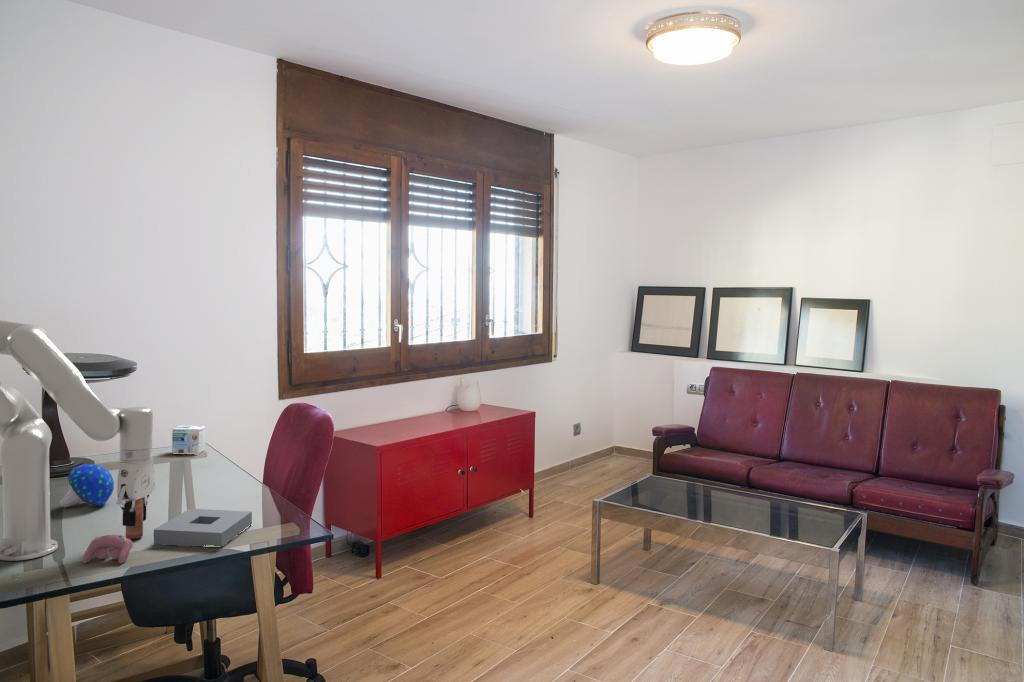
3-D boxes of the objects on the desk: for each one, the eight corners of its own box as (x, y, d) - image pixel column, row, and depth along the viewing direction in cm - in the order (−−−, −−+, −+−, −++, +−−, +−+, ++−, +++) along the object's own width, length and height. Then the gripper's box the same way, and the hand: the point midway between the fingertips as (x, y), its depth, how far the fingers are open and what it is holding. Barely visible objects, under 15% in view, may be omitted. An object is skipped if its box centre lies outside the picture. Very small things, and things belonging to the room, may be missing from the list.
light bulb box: (171, 455, 276) (171, 428, 275) (178, 451, 283) (178, 425, 282) (199, 455, 277) (199, 428, 276) (205, 451, 284) (205, 425, 283)
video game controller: (130, 565, 169) (137, 536, 172) (121, 563, 165) (128, 533, 168) (89, 564, 169) (96, 535, 171) (79, 563, 164) (86, 532, 167)
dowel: (136, 539, 181) (137, 494, 180) (122, 538, 181) (123, 493, 180) (145, 534, 185) (146, 490, 184) (131, 533, 185) (132, 489, 184)
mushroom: (46, 478, 209) (92, 447, 213) (80, 508, 216) (124, 477, 220) (42, 500, 197) (91, 466, 201) (78, 531, 204) (125, 498, 208)
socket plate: (221, 548, 178) (221, 532, 178) (153, 544, 179) (153, 529, 179) (251, 525, 196) (251, 511, 196) (190, 522, 197) (190, 508, 197)
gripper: (130, 462, 173) (128, 534, 174) (167, 448, 190) (165, 514, 191) (101, 460, 174) (100, 532, 175) (140, 447, 190) (139, 512, 191)
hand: (134, 522), depth 183 cm, fingers closed on dowel, 4 cm apart
